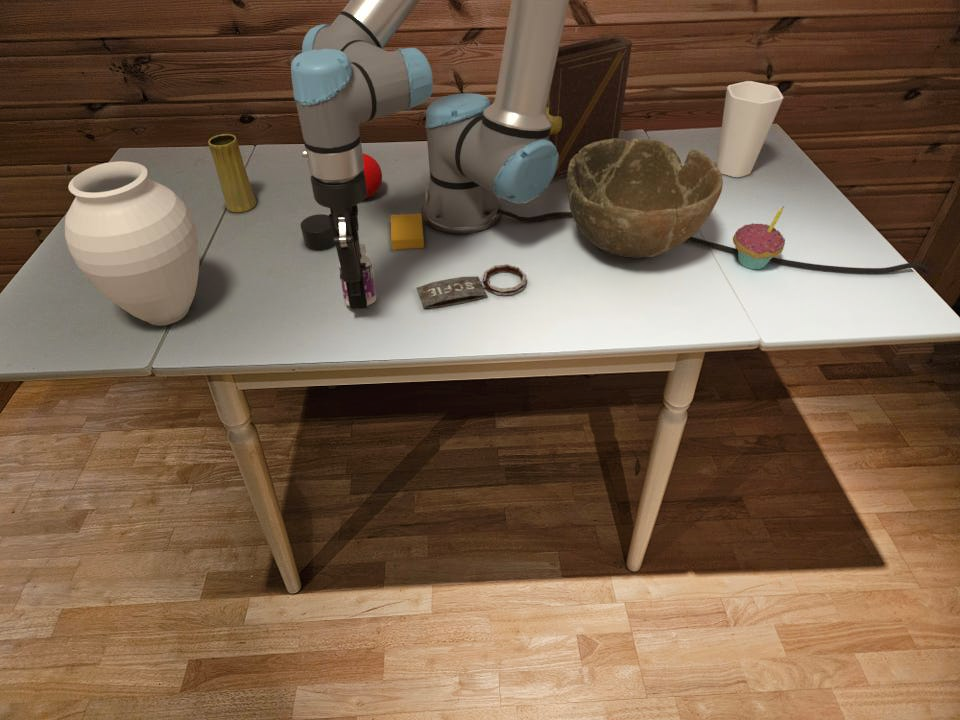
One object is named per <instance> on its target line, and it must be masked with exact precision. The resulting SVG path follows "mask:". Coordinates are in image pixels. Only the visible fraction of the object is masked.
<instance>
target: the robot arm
mask: <svg viewBox="0 0 960 720" xmlns="http://www.w3.org/2000/svg"><path fill="white" fill-rule="evenodd" d="M420 1H421V0H349V1H348V3H347V4H346V5H345V7H344V8H343V9H342V10H341V11H340V13H339V14H338V16H337V17H336V18H335V19H334V21H332V23H331V24H328V23H327V24H325V23H323V24H318V25H315V26H314V27H311V28H310V29H309V31H307V33H306V34H305V36H304V38H303V41H302V44H301V45H302V46H301V53H299V54H297V55H296V56H295V57H294V58H293V59H292V61H291V63H290V73H291V83H292V90H293V91H292V95H293V98H294V99H293V100H294V101H295V105H296V110H297V114H298V118H299V125H300V129H301V134H302V138H303V144H304V150H302V151H301V156H302V158H307V165H308V170H309V173H310V184H311V188H312V193H313V199H314V201H315V202H316V203H317V204H318V205H320V206H321V207H324V208H327V209H329V211H330V213H329V214H328V215H329V220H330V225H331V227H332V228H333V233H334V239H333V241H334V243H335V246H334V247H335V248H336V249H335V250H336V253H337V258H338V262H340V266H341V271H342V273H340V272H339V279H340V280H341V279H343V280H344V282H346V287H347V293H348V299H349V305H350V306H349V310H362V309H363V310H364V309H365V310H366V309H368V305H367V299H366V293H365V286H364V279H363V273H362V271H360V269H366V263H361V261H360V259H361V257H362V255H361V253H360V245H359V244H360V238H359V218H358V216H359V208H358V205H359V204H360V203H362V202H363V201H364V200H365V199H366V198H365V197H366V195H367V188H366V180H365V173H364V171H363V168H364V162H363V154H362V153H363V147H362V140H361V135H360V124H363V123H368V122H370V121H372V120H376V119H380V118H383V117H386V116H389V115H390V116H391V115H393V114H397V113H400V112H404V111H410V110H411V109H412V108H415V107H418V106H419V105H422V104H424V103H426V102H427V101H429V99H431V96H432V95H433V91H434V79H433V78H434V75H433V70H432V66H431V65H430V62H429V60H428V58H427V57H426V56H425V54H424V53H423V52H422V51H421V50H419V49H418V48H416V47H407V48H401V47H399V48H397V49H396V50H394V51H388V50H385V49H384V48H385V46H386V45H387V44H388V42H390V40H391V39H392V37H393V36H394V35H395V34H396V32H397V31H398V29H399V28H400V27H401V26H402V24H403V23H404V22H405V20H406V19H407V18H408V17H409V15H410V14H411V13H412V12H413V11H414V9H415V7H416V6H417V5H418V4H419V3H420ZM569 3H570V0H511V2H510V8H509V14H508V19H507V26H506V31H505V38H504V43H503V49H502V56H501V60H500V65H499V73H498V79H497V84H496V89H495V97H494V101H493V103H491V101H490V99H489V98H488V97H487V96H486V95H483V94H480V93H471V92H469V93H467V92H465V93H455V94H449V95H445V96H441V97H439V98H437V99H435V100H433V101H432V102H430V103H429V104H428V106H427V108H426V110H425V125H424V127H425V129H426V142H427V153H428V154H427V155H428V167H429V183H428V186H426V187H425V191H424V195H425V197H424V200H423V206H422V210H423V211H422V212H423V219H424V221H425V222H426V224H428V226H429V227H431V228H433V229H435V230H437V231H440V232H443V233H446V234H452V235H453V234H455V235H466V234H474V233H479V232H482V231H483V230H486V229H488V228H490V227H492V226H493V225H494V224H495V223H496V222H497V221H498V219H499V217H500V215H502V216H504V217H508V218H511V219H514V220H516V221H520V222H537V221H542V220H547V219H551V218H559V217H563V218H564V217H566V218H567V217H568V218H573V216H572V213H571V211H555V212H548V213H544V214H539V215H533V216H522V215H518V214H516V213H514V212H510V211H507V210H504V209H501V208H500V204H499V199H504V200H505V201H508V202H510V203H512V204H517V205H518V204H520V205H521V204H526V203H528V202H530V201H533V200H534V199H536V198H538V196H540V195H541V194H542V192H544V191H545V190H546V189H547V188H548V186H549V185H550V183H551V182H552V181H551V180H552V178H553V177H554V174H555V172H556V169H557V166H558V152H557V149H556V147H555V146H554V145H553V143H552V142H551V141H548V140H549V136H550V131H551V127H552V123H551V121H550V119H549V118H548V116H547V114H546V106H547V102H548V97H549V92H550V88H551V83H552V78H553V74H554V69H555V64H556V60H557V55H558V50H559V47H561V46H560V45H561V41H562V35H563V31H564V28H565V27H564V26H565V22H566V17H567V12H568V9H569ZM686 241H688V242H692V243H694V244H697V245H702V246H705V247H710V248H713V249H716V250H720V251H723V252H727V253H731V254H734V255H738V250H737V249H736V247H732V246H728V245H724V244H720V243H717V242H713V241H709V240H705V239H703V238H699V237H695V236H691V237H690V238H689V239H687V240H686ZM768 263H774V264H778V265H784V266H790V267H795V268H803V269H810V270H817V271H825V272H827V271H828V272H839V273H848V274H849V273H850V274H852V273H854V274H887V273H893V272H894V273H895V272H898V271H903V270H907V269H918V270H920V271H921V272H923V273H924V274H931V271H930V268H928V266H926V265H925V264H922V263H920V262H908V263H907V262H906V263H902V264H897V265H892V266H888V267H850V266H836V265H826V264H816V263H809V262H804V261H803V262H802V261H796V260H790V259H784V258H779V257H772V258H771V259H770V261H769V262H768Z"/></svg>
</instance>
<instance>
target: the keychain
mask: <svg viewBox="0 0 960 720" xmlns="http://www.w3.org/2000/svg"><path fill="white" fill-rule="evenodd" d="M504 272H505V273H508V272H509V273H512V274H515V275H517V276H519V277H520V279H521V281H520V282H519V283H518V284H516V285H515V286H512V287H511V286H510V287H498V286H495V285H492V284H491V281H490V280H489V277H490V276H492V275H495V274H497V273H504ZM526 284H527V274H526V273H525V272H524V271H523V270H522V269H521V268H520V267H519V266H515V265H511V264H509V263H507V264H497V265H496V264H495V265H493V266H491V267H490V268H488V269H486V270H485V271H484V274H483V277H482V281H481V279H480V277H479V276H460V277H459V276H458V277H453V278H447V279H442V280H438V281H432V282H429V283H426V284H424V285H421V286H418V287H416V291H417V295H418V297H419V300H420V304H421V305H422V308H423V309H431V308H432V309H433V308H434V309H435V308H436V309H437V308H444V307H450V306H456V305H461V304H465V303H470V302H474V301H477V300H480V299H482V298H486V297H487V296H488V294H487V292H486V291H488V292H490V293H493V294H495V295H497V296H512V295H515V294H517V293H519V292H521V291H523V290H524V288H525V286H526Z"/></svg>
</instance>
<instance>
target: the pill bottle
mask: <svg viewBox="0 0 960 720" xmlns="http://www.w3.org/2000/svg"><path fill="white" fill-rule="evenodd" d="M359 245H360V253H361V255H362V257H361V259H360V261H361V263H366V269H360V271H362V273H363V279H364V286H365V293H366V299H367V306H369V305H372V304H374V303H375V302H376V300H377V294H376V293H377V291H376V285H375V279H374V271H373V263H372V259H371V258H370V257H369V256H367V255H366V254H367V248H366V245H365V244H364V243H359ZM338 262H339V261H338ZM338 269H339V274H340V273H342V271H341V266H340V262H339V263H338ZM340 283H341V289H342V296H343V301H344V304H345V305H346V306H348V307H350V305H349V299H348V293H347V287H346V282H344V280H343V279H340Z"/></svg>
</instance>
